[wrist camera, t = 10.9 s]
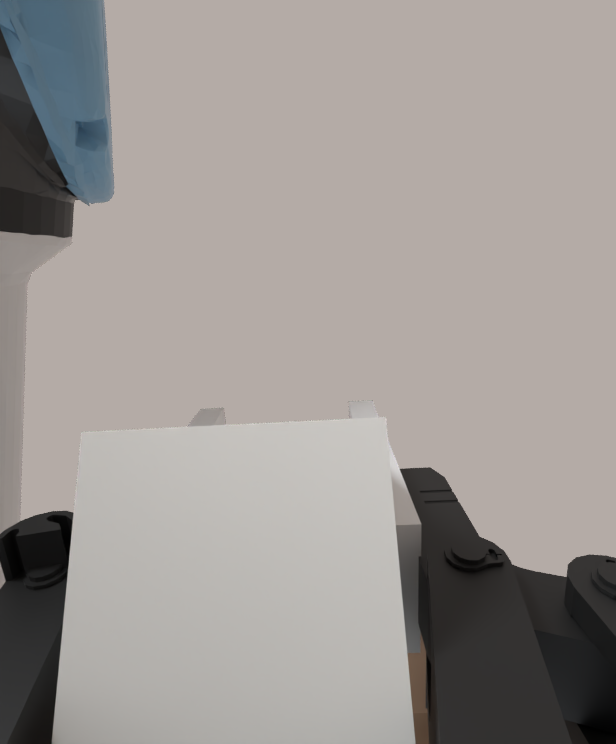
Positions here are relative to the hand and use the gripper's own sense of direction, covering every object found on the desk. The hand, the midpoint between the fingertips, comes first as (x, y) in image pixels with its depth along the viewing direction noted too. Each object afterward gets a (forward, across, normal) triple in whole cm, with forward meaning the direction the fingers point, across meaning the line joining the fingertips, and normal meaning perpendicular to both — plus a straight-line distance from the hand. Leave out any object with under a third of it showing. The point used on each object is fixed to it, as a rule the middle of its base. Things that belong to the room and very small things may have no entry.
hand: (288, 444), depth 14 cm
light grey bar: (+2, 0, -7) cm, 7 cm away
